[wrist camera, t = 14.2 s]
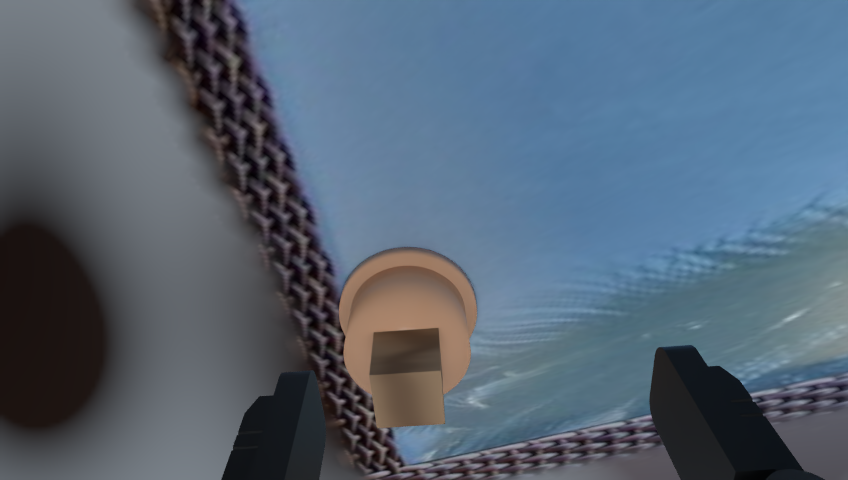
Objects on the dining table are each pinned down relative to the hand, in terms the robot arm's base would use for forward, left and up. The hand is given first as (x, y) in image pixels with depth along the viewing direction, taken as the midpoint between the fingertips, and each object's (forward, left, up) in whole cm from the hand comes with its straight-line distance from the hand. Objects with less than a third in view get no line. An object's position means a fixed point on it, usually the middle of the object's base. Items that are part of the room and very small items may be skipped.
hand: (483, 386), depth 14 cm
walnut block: (+4, +20, -26) cm, 33 cm away
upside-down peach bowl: (+4, +20, -33) cm, 39 cm away
